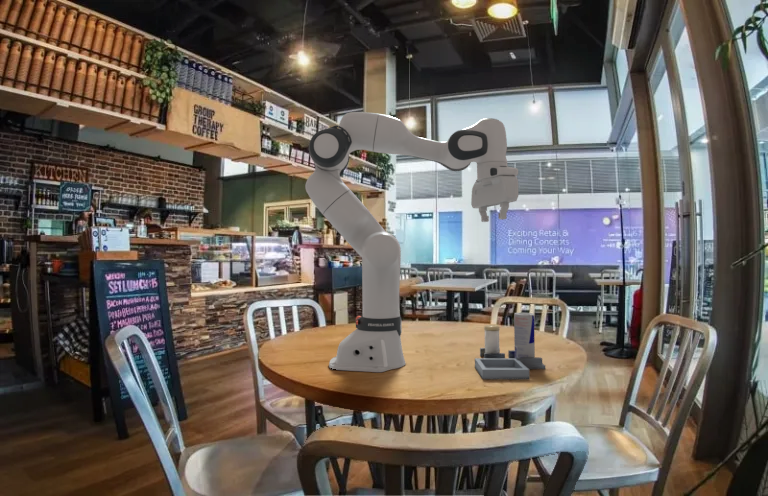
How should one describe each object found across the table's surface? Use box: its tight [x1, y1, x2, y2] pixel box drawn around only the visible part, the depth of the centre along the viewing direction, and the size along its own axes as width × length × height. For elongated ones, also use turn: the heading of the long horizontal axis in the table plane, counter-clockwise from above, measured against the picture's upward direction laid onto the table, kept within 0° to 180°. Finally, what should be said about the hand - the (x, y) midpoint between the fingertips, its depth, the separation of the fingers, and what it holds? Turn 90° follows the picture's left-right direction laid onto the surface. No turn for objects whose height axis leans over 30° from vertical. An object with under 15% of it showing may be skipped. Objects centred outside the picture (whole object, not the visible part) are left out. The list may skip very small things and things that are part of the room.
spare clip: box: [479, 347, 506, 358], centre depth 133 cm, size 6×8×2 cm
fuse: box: [483, 324, 500, 353], centre depth 133 cm, size 5×5×10 cm
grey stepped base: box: [507, 349, 546, 370], centre depth 126 cm, size 8×10×3 cm
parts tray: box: [474, 357, 531, 380], centre depth 117 cm, size 12×12×2 cm
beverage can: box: [513, 312, 536, 358], centre depth 126 cm, size 6×6×15 cm
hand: (493, 220), depth 128 cm, fingers open, 8 cm apart
